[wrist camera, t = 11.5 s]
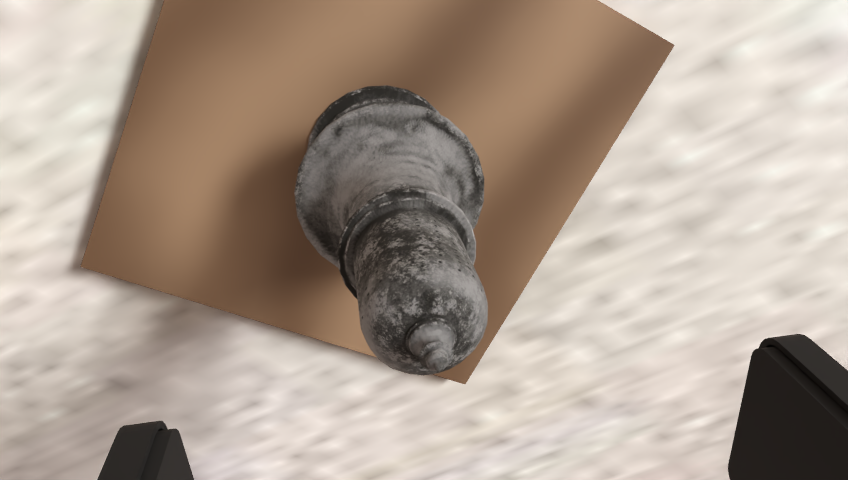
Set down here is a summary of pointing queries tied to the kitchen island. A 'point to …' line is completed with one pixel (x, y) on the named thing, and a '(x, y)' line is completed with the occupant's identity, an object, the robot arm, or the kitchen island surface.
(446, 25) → the walnut board
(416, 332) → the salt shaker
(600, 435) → the kitchen island surface
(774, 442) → the robot arm
